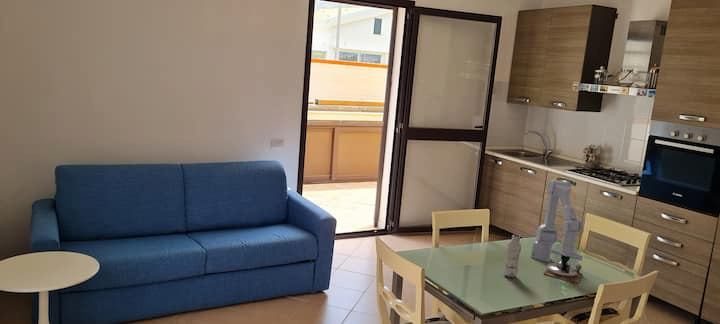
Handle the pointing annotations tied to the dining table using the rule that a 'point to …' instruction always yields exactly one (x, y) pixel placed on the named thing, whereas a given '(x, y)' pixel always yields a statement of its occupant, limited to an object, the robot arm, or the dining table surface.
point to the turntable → (567, 273)
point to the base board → (570, 279)
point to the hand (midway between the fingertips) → (563, 270)
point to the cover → (560, 264)
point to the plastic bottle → (512, 257)
